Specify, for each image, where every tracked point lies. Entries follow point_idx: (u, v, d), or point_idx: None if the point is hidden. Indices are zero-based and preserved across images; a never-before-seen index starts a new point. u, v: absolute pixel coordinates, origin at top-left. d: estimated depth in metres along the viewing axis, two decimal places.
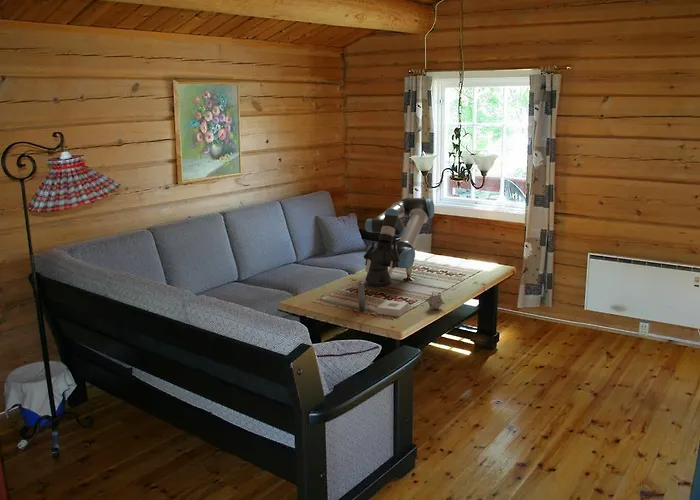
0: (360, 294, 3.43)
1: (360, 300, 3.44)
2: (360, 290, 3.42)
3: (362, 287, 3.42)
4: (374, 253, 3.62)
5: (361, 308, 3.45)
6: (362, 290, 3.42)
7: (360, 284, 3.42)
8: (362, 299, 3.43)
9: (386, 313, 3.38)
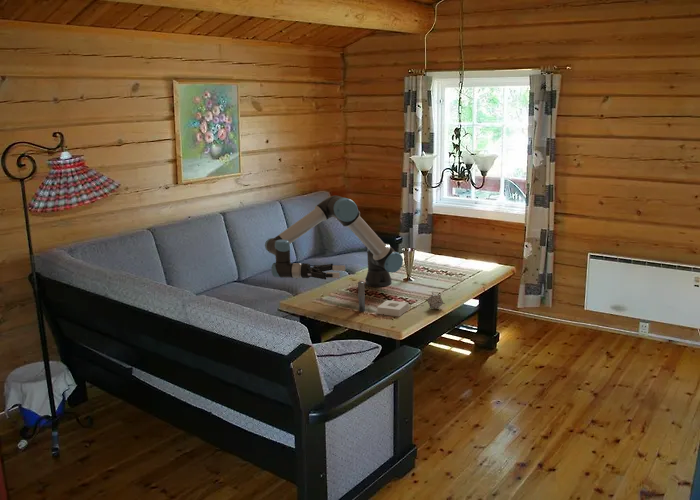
0: (360, 294, 3.43)
1: (360, 300, 3.44)
2: (360, 290, 3.42)
3: (362, 287, 3.42)
4: (324, 270, 3.50)
5: (361, 308, 3.45)
6: (362, 290, 3.42)
7: (360, 284, 3.42)
8: (362, 299, 3.43)
9: (386, 313, 3.38)
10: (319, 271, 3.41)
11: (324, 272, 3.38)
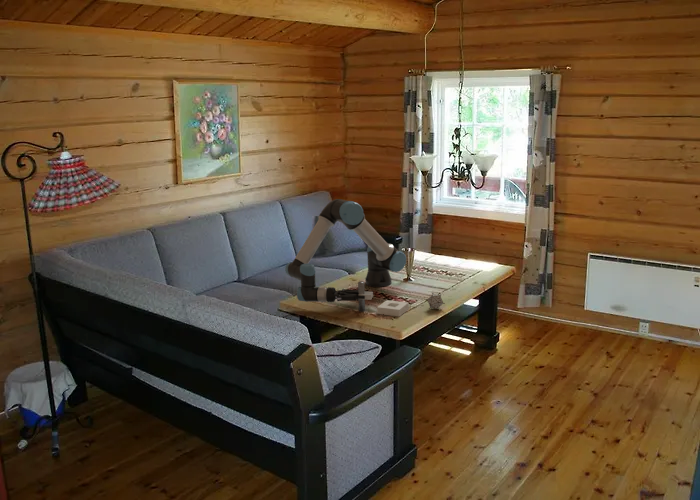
0: None
1: (360, 300, 3.44)
2: (360, 290, 3.42)
3: (362, 287, 3.42)
4: None
5: (361, 308, 3.45)
6: (362, 290, 3.42)
7: (360, 284, 3.42)
8: (362, 299, 3.43)
9: (386, 313, 3.38)
10: (348, 294, 3.43)
11: (355, 294, 3.43)
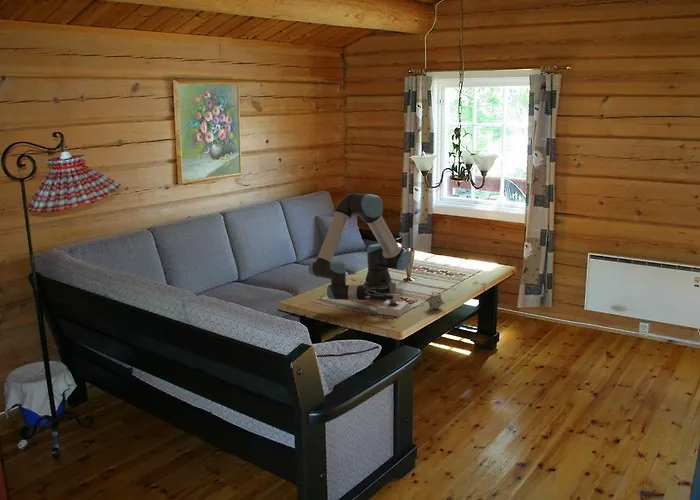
0: None
1: (391, 301, 3.40)
2: (391, 290, 3.39)
3: (394, 287, 3.39)
4: (380, 292, 3.46)
5: None
6: (394, 290, 3.39)
7: (392, 284, 3.38)
8: (393, 300, 3.40)
9: (386, 313, 3.38)
10: (378, 293, 3.38)
11: (384, 294, 3.36)
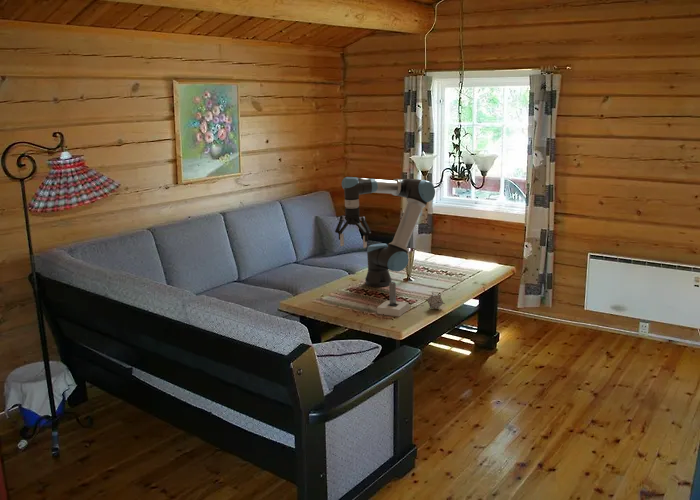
0: (391, 295, 3.40)
1: (391, 301, 3.40)
2: (391, 291, 3.39)
3: (393, 288, 3.39)
4: (344, 227, 3.58)
5: None
6: (393, 291, 3.39)
7: (391, 285, 3.38)
8: (393, 300, 3.40)
9: (386, 313, 3.38)
10: None
11: None
